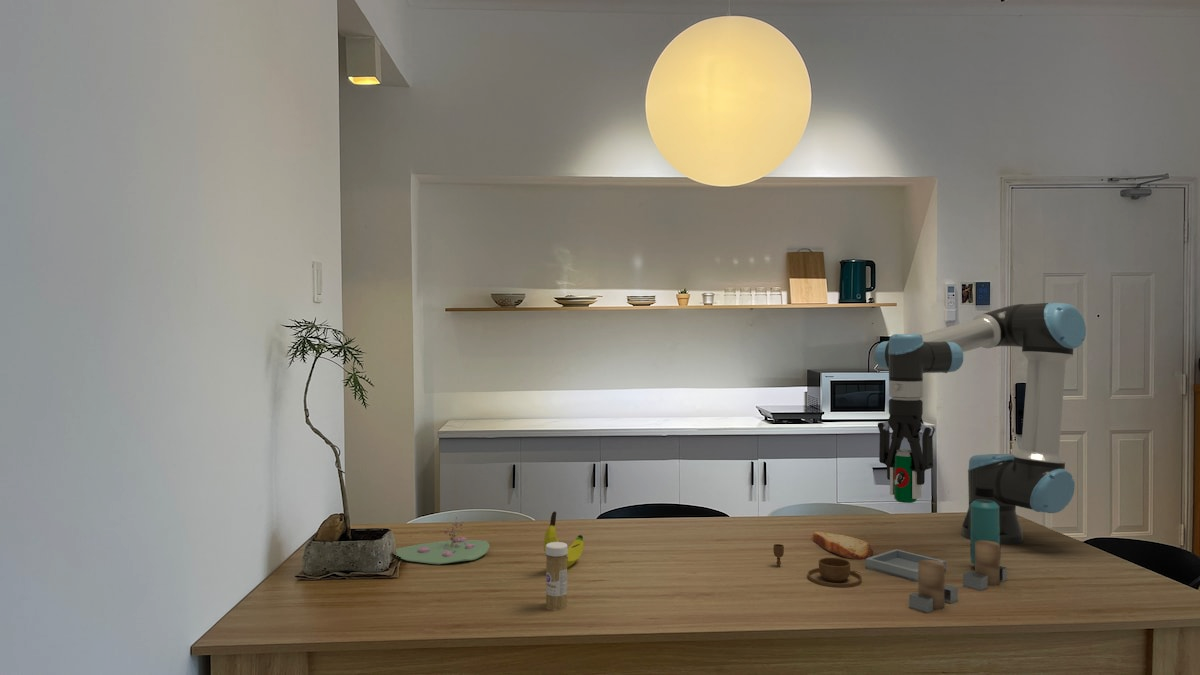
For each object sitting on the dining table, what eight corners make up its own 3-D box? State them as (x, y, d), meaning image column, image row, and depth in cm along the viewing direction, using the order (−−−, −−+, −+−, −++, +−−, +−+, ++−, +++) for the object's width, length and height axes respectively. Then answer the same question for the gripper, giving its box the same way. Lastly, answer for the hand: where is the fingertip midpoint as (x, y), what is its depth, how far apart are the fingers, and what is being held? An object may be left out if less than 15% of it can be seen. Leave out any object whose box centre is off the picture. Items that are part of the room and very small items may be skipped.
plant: (390, 568, 189) (390, 531, 189) (392, 545, 209) (392, 512, 209) (492, 561, 195) (492, 525, 195) (485, 539, 215) (485, 507, 215)
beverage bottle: (1004, 575, 181) (1004, 489, 180) (973, 573, 182) (973, 488, 182) (995, 566, 187) (996, 484, 187) (966, 565, 188) (966, 483, 188)
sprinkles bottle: (541, 609, 160) (540, 544, 159) (556, 603, 163) (556, 539, 163) (557, 614, 157) (557, 548, 156) (572, 608, 160) (572, 543, 160)
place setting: (815, 595, 169) (815, 568, 169) (768, 568, 188) (768, 544, 188) (882, 587, 174) (882, 561, 174) (830, 561, 193) (830, 538, 193)
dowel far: (981, 577, 179) (981, 539, 179) (1003, 583, 175) (1003, 543, 175) (970, 582, 176) (970, 542, 176) (993, 588, 172) (993, 547, 172)
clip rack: (989, 576, 180) (989, 563, 180) (1006, 580, 177) (1006, 567, 177) (909, 609, 159) (909, 594, 159) (927, 614, 156) (927, 599, 156)
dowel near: (926, 600, 164) (926, 558, 164) (949, 607, 160) (949, 563, 160) (913, 605, 161) (913, 562, 161) (936, 612, 157) (936, 568, 157)
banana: (589, 560, 194) (589, 500, 194) (557, 580, 178) (556, 515, 178) (573, 558, 196) (573, 498, 195) (539, 578, 180) (539, 513, 180)
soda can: (918, 503, 181) (918, 452, 181) (896, 502, 182) (896, 452, 182) (914, 499, 186) (914, 449, 186) (892, 498, 187) (892, 448, 187)
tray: (895, 559, 194) (895, 549, 194) (945, 571, 183) (945, 561, 183) (865, 568, 186) (865, 558, 186) (916, 582, 175) (916, 571, 175)
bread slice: (814, 537, 216) (814, 523, 216) (882, 546, 207) (882, 532, 207) (795, 553, 200) (795, 538, 200) (867, 563, 191) (867, 548, 191)
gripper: (863, 396, 189) (862, 491, 189) (933, 402, 175) (933, 504, 175) (880, 395, 194) (880, 487, 194) (950, 400, 179) (950, 500, 179)
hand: (905, 495), depth 184 cm, fingers closed on soda can, 5 cm apart
